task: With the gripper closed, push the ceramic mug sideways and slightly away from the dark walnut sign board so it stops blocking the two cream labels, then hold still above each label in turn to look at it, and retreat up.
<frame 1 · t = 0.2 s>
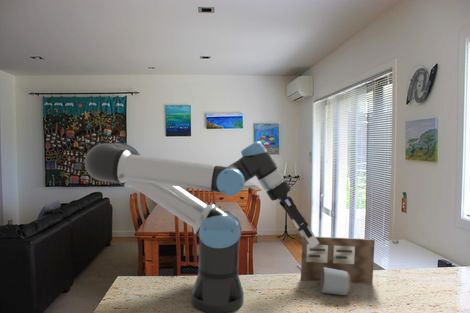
hand: (310, 239, 104), 15 cm above the countertop, tool tilted 35°, fingers open, 13 cm apart
ceramic mug: (333, 291, 101), on the countertop
label board: (336, 281, 108), on the countertop
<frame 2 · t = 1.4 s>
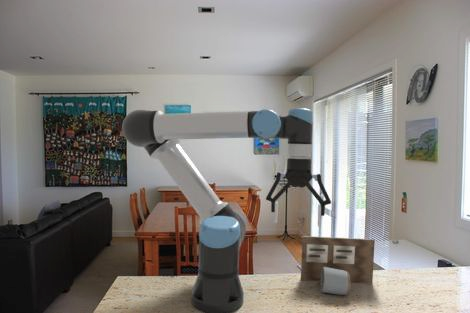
hand: (297, 224, 101), 21 cm above the countertop, tool pointing down, fingers open, 13 cm apart
nothing on the countertop moved.
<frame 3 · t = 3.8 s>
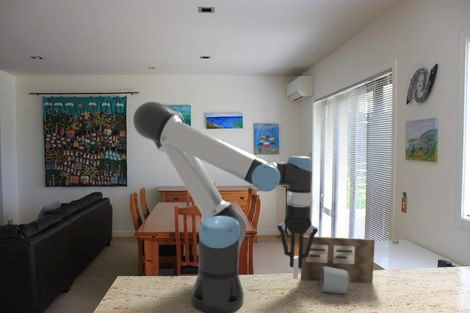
hand: (295, 277, 102), 3 cm above the countertop, tool pointing down, fingers closed
nothing on the countertop moved.
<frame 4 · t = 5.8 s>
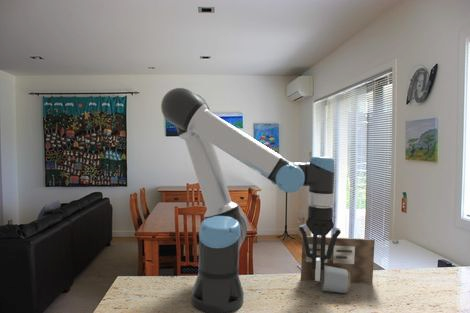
hand: (317, 279, 100), 4 cm above the countertop, tool pointing down, fingers closed
ceramic mug: (333, 289, 102), on the countertop, touching gripper
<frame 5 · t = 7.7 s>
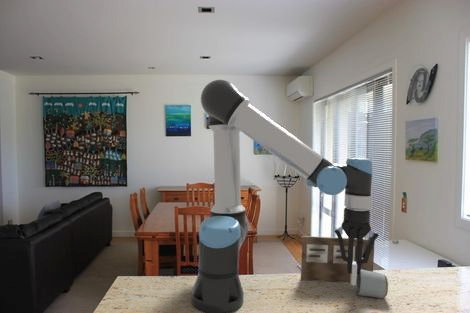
hand: (353, 283, 98), 4 cm above the countertop, tool pointing down, fingers closed
ceramic mug: (369, 294, 100), on the countertop, touching gripper
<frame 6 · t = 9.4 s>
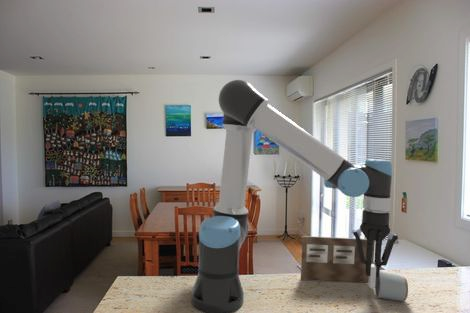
hand: (371, 286, 97), 3 cm above the countertop, tool pointing down, fingers closed
ceramic mug: (388, 296, 98), on the countertop, touching gripper
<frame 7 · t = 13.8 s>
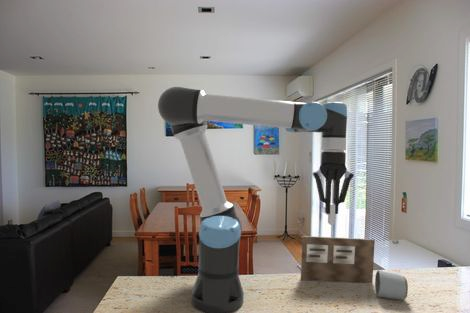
hand: (331, 223, 103), 21 cm above the countertop, tool pointing down, fingers closed
ceramic mug: (388, 295, 99), on the countertop
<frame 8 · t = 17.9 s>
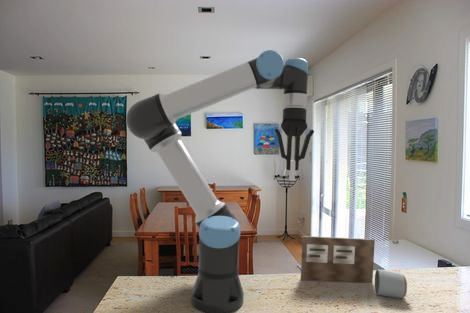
hand: (291, 180, 104), 34 cm above the countertop, tool pointing down, fingers closed
ceramic mug: (387, 294, 100), on the countertop
at the end: ceramic mug inside the target area (3.8 cm from its centre), on the countertop; ceramic mug tilted 0° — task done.
